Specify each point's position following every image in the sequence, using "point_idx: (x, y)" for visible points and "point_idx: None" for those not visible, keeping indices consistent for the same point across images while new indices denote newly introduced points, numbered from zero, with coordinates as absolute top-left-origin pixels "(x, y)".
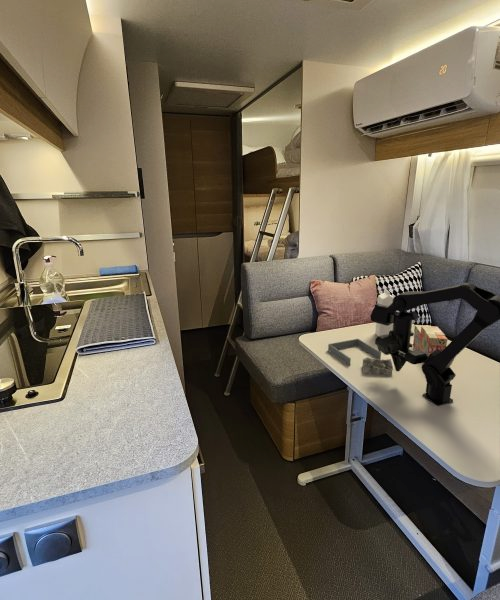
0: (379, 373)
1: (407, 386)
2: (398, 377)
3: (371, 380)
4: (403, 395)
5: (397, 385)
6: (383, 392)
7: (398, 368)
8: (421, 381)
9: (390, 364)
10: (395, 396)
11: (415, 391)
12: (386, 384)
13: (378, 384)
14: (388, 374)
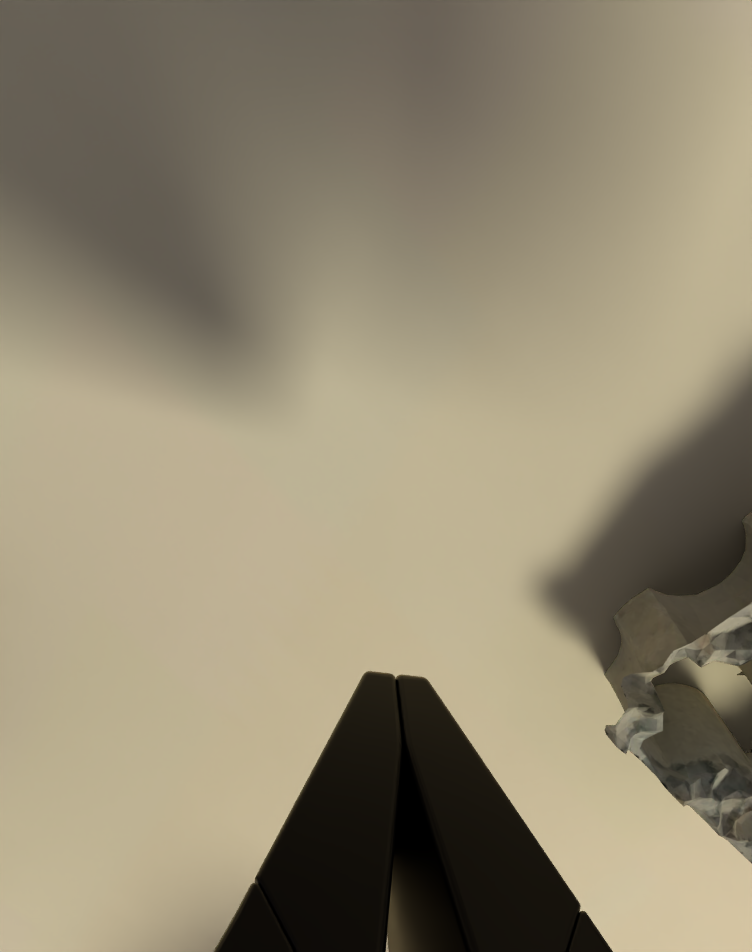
0: (750, 524)
1: (217, 581)
2: (477, 670)
3: (722, 199)
4: (4, 300)
5: (313, 480)
6: (243, 9)
7: (330, 750)
8: (236, 807)
9: (742, 814)
10: (19, 122)
11: (51, 565)
12: (438, 343)
13: (528, 199)
14: (624, 616)
